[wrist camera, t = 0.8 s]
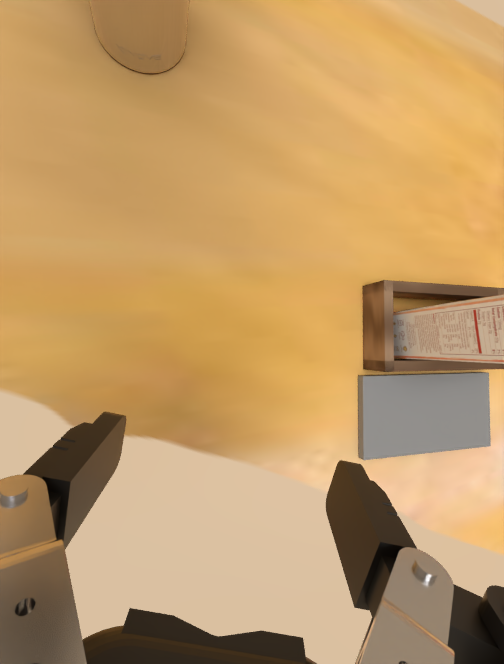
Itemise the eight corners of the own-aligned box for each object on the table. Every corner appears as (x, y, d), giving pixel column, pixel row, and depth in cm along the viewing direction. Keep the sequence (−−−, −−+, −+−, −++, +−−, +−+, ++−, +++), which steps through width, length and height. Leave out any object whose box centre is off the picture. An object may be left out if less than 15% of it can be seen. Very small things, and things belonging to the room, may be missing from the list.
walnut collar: (362, 286, 40) (383, 280, 37) (475, 292, 45) (504, 288, 42) (363, 369, 40) (385, 371, 36) (477, 366, 45) (506, 368, 41)
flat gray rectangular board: (358, 375, 40) (362, 376, 39) (481, 372, 45) (488, 372, 44) (358, 457, 39) (363, 460, 38) (483, 443, 45) (490, 446, 44)
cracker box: (460, 301, 45) (706, 266, 25) (466, 344, 45) (716, 345, 25) (375, 311, 41) (583, 281, 21) (381, 358, 41) (595, 373, 21)
